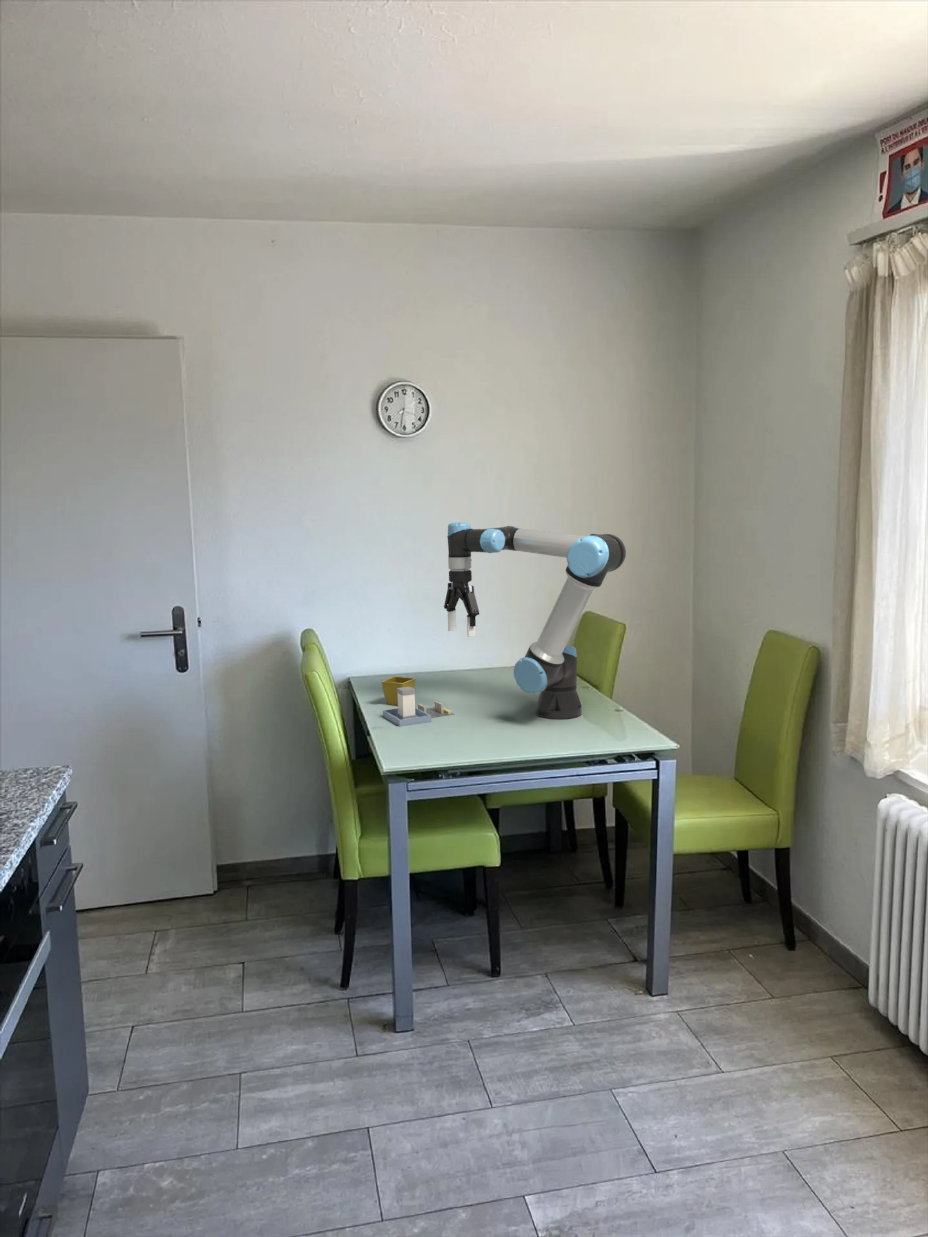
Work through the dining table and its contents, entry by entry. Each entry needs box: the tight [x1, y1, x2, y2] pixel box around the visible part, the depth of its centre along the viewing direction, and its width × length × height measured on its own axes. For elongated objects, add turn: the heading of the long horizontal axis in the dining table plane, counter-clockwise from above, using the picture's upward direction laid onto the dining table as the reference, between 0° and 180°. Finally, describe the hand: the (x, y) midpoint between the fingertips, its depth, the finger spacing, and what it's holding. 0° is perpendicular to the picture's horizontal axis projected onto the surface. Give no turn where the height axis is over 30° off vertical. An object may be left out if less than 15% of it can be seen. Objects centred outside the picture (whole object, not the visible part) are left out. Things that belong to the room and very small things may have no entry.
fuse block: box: [417, 700, 455, 719], centre depth 303 cm, size 12×10×4 cm
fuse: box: [397, 687, 416, 720], centre depth 295 cm, size 4×4×10 cm
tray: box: [382, 706, 432, 727], centre depth 295 cm, size 14×11×2 cm
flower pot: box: [381, 676, 416, 707], centre depth 315 cm, size 9×9×9 cm
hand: (461, 633), depth 303 cm, fingers open, 13 cm apart
